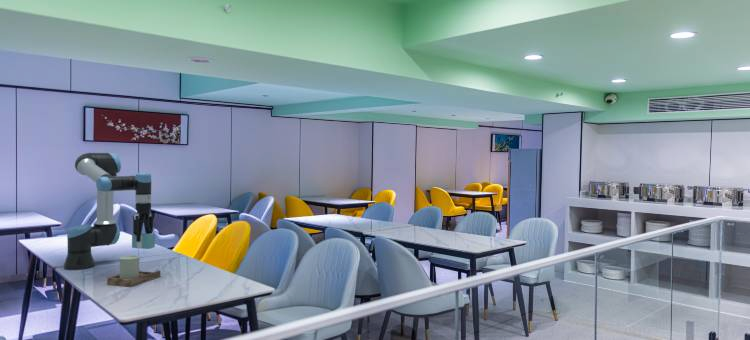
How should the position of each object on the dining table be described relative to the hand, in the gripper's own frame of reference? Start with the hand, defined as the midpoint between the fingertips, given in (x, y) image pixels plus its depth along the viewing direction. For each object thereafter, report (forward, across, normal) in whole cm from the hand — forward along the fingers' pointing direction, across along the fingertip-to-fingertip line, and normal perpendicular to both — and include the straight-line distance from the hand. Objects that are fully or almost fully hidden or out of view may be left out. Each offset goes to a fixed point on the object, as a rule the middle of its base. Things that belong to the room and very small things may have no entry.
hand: (143, 246), depth 275 cm
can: (+15, -10, 0) cm, 19 cm away
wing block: (0, 0, 0) cm, 0 cm away
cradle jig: (+16, -6, 0) cm, 18 cm away
